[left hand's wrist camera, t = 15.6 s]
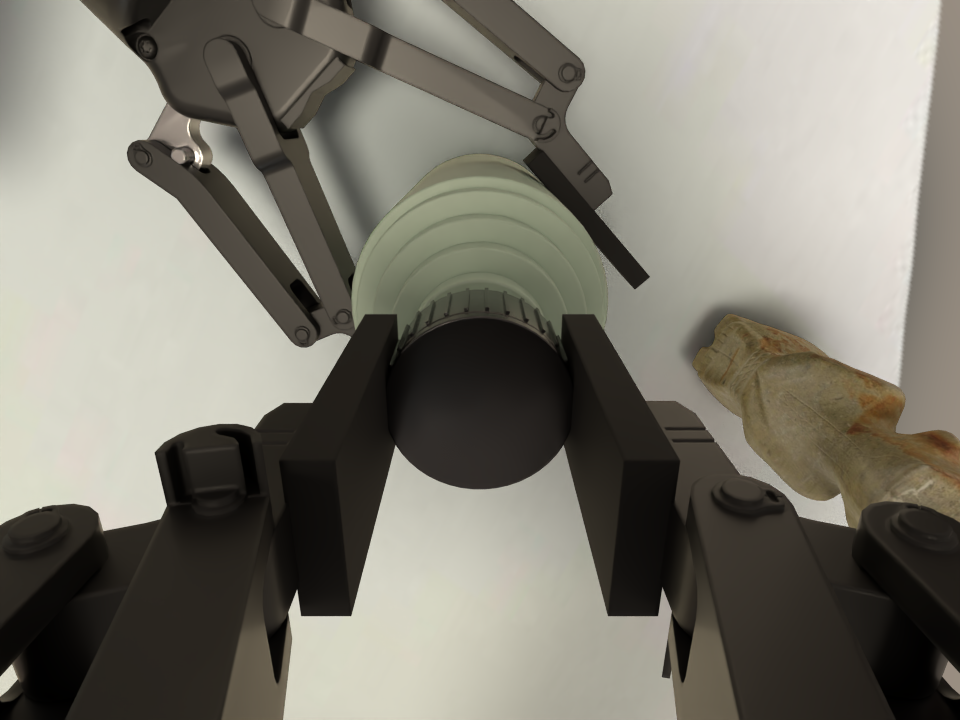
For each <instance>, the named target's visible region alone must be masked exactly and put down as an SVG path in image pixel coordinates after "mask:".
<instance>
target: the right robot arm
mask: <svg viewBox="0 0 960 720" xmlns="http://www.w3.org/2000/svg"><path fill="white" fill-rule="evenodd" d="M80 1H81V2H82V3H83V4H84V5H85V6H86V7H87V8H88V9H89V10H90V11H91V12H92V13H93V14H94V15H95V16H97V17H98V18H99V19H100V20H101V21H102V22H103V23H104V24H105V25H106V26H107V27H108V28H109V29H110V30H111V31H112V32H113V33H114V34H115V35H116V36H117V37H118V38H119V39H120V40H121V41H122V42H123V43H124V44H125V45H126V46H127V47H128V48H129V49H131V50H132V51H133V52H134V53H135V54H136V55H137V56H138V57H139V58H140V59H142V60H143V61H144V62H145V64H146V65H147V66H148V67H149V69H150V70H151V72H152V73H153V75H154V77H155V79H156V81H157V83H158V85H159V88H160V90H161V93H162V95H163V97H164V99H165V100H166V102H167V104H166V106H165V108H164V110H163V111H162V113H161V115H160V117H159V119H158V121H157V123H156V125H155V127H154V129H153V130H152V132H151V134H150V136H149V138H148V139H147V140H137V141H135V142H132V143H131V145H130V146H129V147H128V151H127V157H128V161H129V163H130V164H131V166H132V167H133V168H134V169H135V170H136V171H137V172H139V173H140V174H142V175H143V176H145V177H146V178H148V179H149V180H151V181H152V182H153V183H155V184H156V185H158V186H159V187H161V188H162V189H164V190H165V191H166V192H168V193H169V194H171V195H172V196H174V197H175V198H177V199H178V201H179V202H180V203H181V204H182V206H183V207H184V208H185V209H186V211H187V212H188V213H189V214H190V216H191V217H192V218H193V219H194V221H195V222H196V223H197V224H198V226H199V227H200V228H201V229H202V231H203V232H204V233H205V234H206V236H207V237H208V238H209V239H210V241H211V242H212V243H213V244H214V246H215V247H216V248H217V249H218V251H219V252H220V253H221V254H222V256H223V257H224V258H225V259H226V261H227V262H228V263H229V264H230V265H231V267H232V268H233V269H234V270H235V272H236V273H237V274H238V275H239V277H240V278H241V279H242V280H243V282H244V283H245V284H246V285H247V287H248V288H249V289H250V290H251V292H252V293H253V294H254V295H255V297H256V298H257V299H258V300H259V302H260V303H261V304H262V305H263V307H264V308H265V309H266V310H267V312H268V313H269V314H270V315H271V317H272V318H273V319H274V320H275V322H276V323H277V324H278V325H279V327H280V328H281V329H282V330H283V332H284V333H285V334H286V335H287V337H288V338H289V339H290V340H291V341H292V342H293V343H294V344H295V345H296V346H299V347H309V346H312V345H313V344H314V343H315V342H316V341H318V340H320V339H322V338H325V337H327V336H330V335H332V334H336V333H343V334H347V335H349V336H351V337H352V335H353V334H354V332H355V325H354V320H353V315H352V299H351V297H352V284H353V278H354V274H355V269H356V268H355V266H354V263H353V261H352V259H351V256H350V254H349V252H348V249H347V247H346V245H345V242H344V240H343V237H342V235H341V233H340V230H339V228H338V226H337V223H336V221H335V219H334V216H333V214H332V212H331V209H330V207H329V204H328V202H327V200H326V197H325V195H324V193H323V190H322V188H321V186H320V183H319V181H318V178H317V176H316V174H315V171H314V169H313V167H312V164H311V162H310V158H309V150H308V147H307V144H306V142H305V139H304V137H303V135H302V132H301V130H300V128H304V127H305V126H306V125H307V124H308V122H309V121H310V120H311V119H312V118H313V117H314V116H315V115H316V113H317V111H318V109H319V107H320V105H321V103H322V101H323V98H324V97H325V95H326V94H328V93H329V92H331V91H333V90H334V89H336V88H338V87H339V86H341V85H343V83H344V82H345V81H346V80H347V79H348V78H349V77H350V76H351V75H352V73H353V72H354V71H355V70H356V69H355V68H354V67H353V66H354V64H355V62H356V60H357V61H359V62H361V63H363V64H365V65H368V66H370V67H372V68H374V69H376V70H379V71H381V72H383V73H385V74H388V75H390V76H392V77H394V78H396V79H399V80H401V81H403V82H405V83H408V84H410V85H412V86H414V87H416V88H419V89H421V90H423V91H425V92H427V93H430V94H432V95H434V96H436V97H438V98H441V99H443V100H445V101H447V102H449V103H452V104H454V105H456V106H458V107H460V108H463V109H465V110H467V111H469V112H471V113H474V114H476V115H478V116H480V117H483V118H485V119H487V120H489V121H491V122H494V123H496V124H498V125H500V126H502V127H505V128H507V129H509V130H511V131H513V132H516V133H518V134H520V135H522V136H524V137H527V138H528V139H529V140H530V141H531V142H532V143H533V144H534V146H535V147H536V148H535V149H534V150H533V151H532V152H531V153H530V154H529V155H528V156H527V157H526V158H525V159H524V160H523V161H524V162H525V164H526V165H527V166H528V167H529V168H530V169H531V170H532V172H533V173H534V174H535V175H536V176H537V177H538V179H539V180H540V181H541V182H542V183H543V184H544V186H545V187H546V188H547V189H548V190H549V191H550V192H551V193H552V194H553V195H554V196H555V197H556V198H557V199H558V200H559V201H560V202H561V203H562V204H563V205H564V206H565V207H566V208H567V209H568V210H569V211H570V212H571V213H572V214H573V215H574V216H575V217H576V219H577V220H578V221H579V222H580V223H581V224H582V225H583V227H584V228H585V230H586V231H587V233H588V234H589V236H590V237H591V239H592V240H593V242H594V244H595V245H596V246H597V247H598V248H599V249H600V251H601V252H602V253H603V254H604V255H605V256H606V258H607V259H608V260H609V261H610V262H611V263H612V265H613V266H614V267H615V268H616V269H617V270H618V272H619V273H620V274H621V275H622V276H623V277H624V278H625V279H626V280H627V281H628V283H629V284H630V285H631V286H632V287H633V288H634V289H636V288H637V287H638V286H640V285H641V284H642V283H643V282H644V281H646V280H647V279H648V278H649V277H650V276H649V275H648V274H647V273H646V272H645V271H644V269H643V268H642V267H641V266H640V265H639V263H638V262H637V261H636V260H635V259H634V257H633V256H632V255H631V254H630V253H629V252H628V250H627V249H626V248H625V247H624V246H623V244H622V243H621V242H620V241H619V240H618V239H617V237H616V236H615V235H614V234H613V233H612V231H611V230H610V229H609V228H608V227H607V225H606V224H605V223H604V222H603V221H602V220H601V218H600V217H599V216H598V215H597V214H596V212H595V211H594V210H595V209H596V208H598V207H599V206H600V205H601V204H602V203H603V202H604V201H605V200H607V199H608V198H609V197H610V196H611V195H612V190H611V187H610V183H609V180H608V179H607V178H606V177H605V176H604V174H603V173H602V172H601V171H600V170H599V168H598V167H597V166H596V165H595V163H594V162H593V161H592V160H591V158H590V157H589V156H588V155H587V154H586V152H585V151H584V150H583V149H582V147H581V146H580V145H579V144H578V143H577V141H576V140H575V139H574V138H573V137H572V135H571V134H570V133H569V131H568V129H567V127H566V124H565V115H566V111H567V108H568V106H569V104H570V102H571V100H572V98H573V97H574V95H575V93H576V91H577V89H578V87H579V86H580V85H581V84H582V82H583V80H584V78H585V68H584V64H583V62H582V61H581V60H580V58H579V57H577V56H576V55H575V54H574V53H573V52H572V51H570V50H569V49H568V48H567V47H566V46H565V45H564V44H562V43H561V42H560V41H559V40H558V39H557V38H555V37H554V36H553V35H552V34H551V33H550V32H549V31H547V30H546V29H545V28H544V27H543V26H542V25H540V24H539V23H538V22H537V21H536V20H535V19H534V18H532V17H531V16H530V15H529V14H528V13H527V12H525V11H524V10H523V9H522V8H521V7H520V6H519V5H517V4H516V3H515V2H514V1H513V0H442V1H443V2H444V3H445V4H447V5H448V6H449V7H450V8H451V9H453V10H454V11H455V12H456V13H457V14H459V15H460V16H461V17H462V18H463V19H465V20H466V21H467V22H468V23H469V24H471V25H472V26H473V27H474V28H475V29H477V30H478V31H479V32H480V33H481V34H482V35H484V36H485V37H486V38H487V39H488V40H490V41H491V42H492V43H493V44H494V45H496V46H497V47H498V48H499V49H500V50H502V51H503V52H504V53H505V54H506V55H508V56H509V57H510V58H511V59H512V60H513V61H515V62H516V63H517V64H518V65H519V66H521V67H522V68H523V69H524V70H525V71H527V72H528V73H529V74H530V75H531V76H533V77H534V78H535V79H536V80H537V81H539V82H540V83H541V84H540V86H539V88H538V90H537V92H536V94H535V96H534V98H533V100H530V99H528V98H526V97H524V96H522V95H519V94H517V93H515V92H513V91H511V90H509V89H506V88H504V87H502V86H500V85H498V84H496V83H493V82H491V81H489V80H487V79H485V78H483V77H481V76H478V75H476V74H474V73H472V72H470V71H468V70H465V69H463V68H461V67H459V66H457V65H455V64H453V63H450V62H448V61H446V60H444V59H442V58H440V57H437V56H435V55H433V54H431V53H429V52H427V51H424V50H422V49H420V48H418V47H416V46H414V45H412V44H409V43H407V42H405V41H403V40H401V39H399V38H396V37H394V36H392V35H390V34H388V33H386V32H384V31H383V30H381V29H379V28H377V27H375V26H373V25H371V24H369V23H366V22H364V21H362V20H360V19H358V18H356V17H354V15H353V9H352V4H351V0H80ZM201 120H202V121H207V122H212V123H217V124H221V125H226V126H231V127H236V128H237V129H238V131H239V133H240V135H241V138H242V140H243V142H244V144H245V146H246V148H247V151H248V153H249V155H250V157H251V159H252V161H253V163H254V165H255V166H256V167H257V169H259V170H260V171H261V172H262V174H263V175H264V177H265V179H266V181H267V183H268V185H269V188H270V190H271V192H272V194H273V196H274V199H275V201H276V203H277V205H278V207H279V210H280V212H281V214H282V216H283V218H284V221H285V223H286V225H287V227H288V229H289V232H290V234H291V236H292V238H293V240H294V243H295V245H296V247H297V249H298V251H299V254H300V256H301V258H302V260H303V262H304V265H305V267H306V269H307V271H308V273H309V276H310V278H311V280H312V282H313V284H314V287H315V289H316V291H317V293H318V295H319V297H318V296H317V295H316V293H315V292H314V291H313V290H312V288H311V287H310V286H309V284H308V283H307V282H306V280H305V279H304V278H303V276H302V275H301V274H300V272H299V271H298V270H297V269H296V267H295V266H294V265H293V263H292V262H291V261H290V259H289V258H288V257H287V255H286V254H285V253H284V251H283V250H282V249H281V248H280V246H279V245H278V244H277V242H276V241H275V240H274V238H273V237H272V236H271V234H270V233H269V232H268V230H267V229H266V228H265V227H264V225H263V224H262V223H261V221H260V220H259V219H258V217H257V216H256V215H255V213H254V212H253V211H252V209H251V208H250V207H249V206H248V204H247V203H246V202H245V200H244V199H243V198H242V196H241V195H240V194H239V192H238V191H237V190H236V188H235V187H234V186H233V185H232V184H231V182H230V181H229V180H228V179H227V178H226V176H225V175H223V174H222V173H221V172H220V171H219V170H218V169H217V168H216V167H215V166H214V165H212V164H211V162H212V158H213V155H212V151H211V149H210V147H209V146H208V144H207V143H206V142H205V141H204V140H203V138H202V136H201V134H200V130H199V126H200V122H201ZM319 298H320V299H319Z"/></svg>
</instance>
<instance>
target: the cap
mask: <svg viewBox="0 0 960 720" xmlns="http://www.w3.org/2000/svg"><path fill="white" fill-rule="evenodd" d="M567 363H569V360H568V358H567V355H566V352H565V350H564V347H563V344H562V341H561V339H560V336H559V335H557V336H556V334H555V331H554V329H553V326H552V323H551V321H550V320H549V321H547V320H546V319H545V318H544V317H543V316H542V315H541V313H540V310H539V309H538V308H537V307H536V309H535V308H533V307H532V306H531V305H529V304H528V303H526V302H525V300H524V298H522V297H521V298H520V299H519V298H517V297H514V296H512V295H510V294H507V291H503V292H499V291H493V290H488V288H485V290H476V289H475V290H470V289H469V288H466V291H461V292H457V293H453V294H451V292H449V293H447V296H445V297H442V298H440V299H439V300H437V301H434V300H432V301H431V302H430V305H429V306H427V307H426V308H425V309H423V310H422V311H421V312H420V311H418V312H417V313H416V316H415V318H414V319H413V321H412V322H411V323H410V325H408V324H407V325H406V326H405V329H404V331H403V334H402V337H401V340H398V342H397V345H396V347H395V350H394V353H393V355H392V358H391V361H390V363H389V366H388V367H389V368H391V369H390V372H389V375H388V378H387V381H386V402H387V417H388V430H389V432H390V435H391V437H392V439H393V441H394V443H395V444H396V446H397V447H398V449H399V450H400V452H401V453H402V454H403V455H404V456H405V457H406V459H407V460H408V461H409V462H410V463H411V464H413V465H414V466H415V467H416V468H417V469H418V470H420V471H422V472H423V473H425V474H426V475H428V476H429V477H431V478H434V479H436V480H438V481H440V482H443V483H445V484H448V485H452V486H456V487H460V488H468V489H492V488H499V487H503V486H508V485H511V484H514V483H517V482H520V481H522V480H524V479H526V478H528V477H530V476H532V475H533V474H535V473H536V472H538V471H539V470H541V469H542V468H543V467H544V466H546V465H547V464H548V463H549V462H550V461H551V460H552V459H553V458H554V457H555V456H556V455H557V453H558V452H559V451H560V449H561V448H562V446H563V445H564V443H565V441H566V439H567V438H568V436H569V433H570V430H571V422H572V407H573V390H574V384H573V380H572V377H571V374H570V371H569V369H568V366H567Z"/></svg>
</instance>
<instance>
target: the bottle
mask: <svg viewBox="0 0 960 720" xmlns="http://www.w3.org/2000/svg"><path fill="white" fill-rule="evenodd" d="M466 288H469V289H470V290H475V289H476V290H485V288H488V290H493V291H499V292H503V291H507V294H510V295H512V296H514V297H517V298H519V299H520V298H521V297H522V298H524V300H525V302H526V303H528V304H529V305H531V306H532V307H533V308H535V309H536V307H537V308H538V309H539V310H540V313H541V315H542V316H543V317H544V318H545V319H546V320H547V321H549V320H550V321H551V323H552V326H553V329H554V331H555V334H556V336H557V335H559V336H560V339H561V328H562V314H594V315H595V316H596V318H597V320H598V321H599V323H600V325H601V327H602V328H603V330H604V327H605V323H606V317H607V308H608V290H607V282H606V276H605V271H604V268H603V264H602V261H601V258H600V255H599V253H598V251H597V249H596V247H595V245H594V242H593V240H592V239H591V237H590V236H589V234H588V233H587V231H586V230H585V228H584V227H583V225H582V224H581V223H580V222H579V221H578V220H577V219H576V217H575V216H574V215H573V214H572V213H571V212H570V211H569V210H568V209H567V208H566V207H565V206H564V205H563V204H562V203H561V202H560V201H559V200H558V199H557V198H556V197H555V196H554V195H553V194H552V193H551V192H550V191H549V190H548V189H547V188H546V187H545V186H544V185H543V184H542V183H541V182H540V181H539V180H538V179H537V178H536V177H535V176H534V175H533V174H532V173H531V172H529V171H528V170H527V169H525V168H524V167H522V166H521V165H519V164H518V163H516V162H513V161H511V160H509V159H506V158H503V157H500V156H496V155H490V154H470V155H464V156H460V157H456V158H453V159H451V160H448V161H446V162H444V163H442V164H440V165H439V166H437V167H435V168H434V169H433V170H431V171H430V172H429V173H428V174H427V175H426V176H425V177H424V178H423V179H422V180H421V181H420V182H419V183H418V184H417V185H416V186H415V187H414V188H413V189H412V190H411V191H410V192H409V193H408V194H407V195H406V196H405V197H404V198H403V199H402V200H401V201H400V202H399V203H398V204H397V205H396V206H395V207H394V208H393V209H392V210H391V211H390V212H389V213H388V214H387V215H386V216H385V217H384V218H383V219H382V220H381V221H380V222H379V224H378V225H377V226H376V228H375V229H374V230H373V232H372V233H371V234H370V236H369V238H368V240H367V242H366V244H365V245H364V247H363V249H362V251H361V254H360V257H359V260H358V262H357V265H356V269H355V274H354V278H353V284H352V297H351V299H352V315H353V320H354V325H355V330H356V329H357V327H358V325H359V324H360V322H361V320H362V318H363V317H364V315H365V314H397V323H398V340H401V337H402V334H403V331H404V329H405V326H406V325H407V324H408V325H410V323H411V322H412V321H413V319H414V318H415V316H416V313H417V312H418V311H420V312H421V311H422V310H423V309H425V308H426V307H427V306H429V305H430V302H431V301H432V300H434V301H437V300H439V299H440V298H442V297H445V296H447V293H449V292H451V294H453V293H457V292H461V291H466Z"/></svg>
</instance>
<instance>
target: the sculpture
mask: <svg viewBox="0 0 960 720" xmlns="http://www.w3.org/2000/svg"><path fill="white" fill-rule="evenodd" d="M714 333H715V339H714V342H713V344H712V345H711V346H710V347H702V348H701V349H700V350H699V352H698V353H697V355H696V357H695V359H694V361H693V363H692V365H693V367H694V368H695V369H696V370H697V371H698V376H699V378H700V379H701V381H702V382H703V384H704V385H705V386H706V388H707V389H708V390H709V391H710V392H711V394H712V395H713V396H714V397H715V398H716V399H717V400H718V401H719V402H720V403H721V404H723V405H724V406H725V407H726V408H727V409H728V410H730V411H731V412H732V413H734V414H735V415H737V416H739V417H741V418H742V421H743V428H744V434H745V438H746V441H747V443H748V444H749V445H750V446H751V448H752V449H753V450H754V451H755V452H756V453H757V454H758V455H759V456H760V457H761V458H762V459H763V460H764V461H765V462H766V463H767V464H768V465H769V466H770V467H771V468H772V469H773V470H774V471H775V472H776V473H777V474H778V475H779V476H780V478H781V479H782V480H783V481H784V482H785V483H786V484H788V485H789V486H790V487H791V488H792V489H793V490H794V491H796V492H797V493H799V494H801V495H803V496H805V497H807V498H810V499H813V500H818V501H826V500H829V499H831V498H834V497H835V496H837V495H838V494H840V493H841V495H842V499H843V502H844V507H845V514H846V520H847V523H848V526H849V527H851V528H856V529H857V526H858V522H859V519H860V515H861V512H862V510H863V509H864V508H866V507H867V506H868V505H870V504H872V503H878V502H884V501H892V502H908V503H913V504H918V506H921V505H922V506H926V507H929V508H932V509H934V510H936V511H937V512H939V513H942V514H944V515H946V516H949V517H951V518H953V519H955V520H957V521H958V522H960V441H959V440H958V438H957V437H955V436H954V435H953V434H952V433H949V432H947V431H942V430H934V431H928V432H922V433H917V434H912V435H910V434H899V433H896V432H895V431H896V425H897V423H898V420H899V418H900V416H901V413H902V411H903V409H904V406H905V395H904V393H903V392H902V390H901V389H900V388H899V387H897V386H896V385H894V384H891V383H889V382H887V381H884V380H882V379H880V378H877V377H875V376H873V375H870V374H868V373H865V372H863V371H860V370H857V369H855V368H852V367H850V366H848V365H845V364H843V363H841V362H839V361H837V360H835V359H832V358H829V357H828V356H827V355H826V354H825V353H824V352H822V351H821V350H820V349H819V348H817V347H816V346H815V345H813V344H811V343H810V342H808V341H806V340H804V339H802V338H800V337H797V336H795V335H792V334H789V333H787V332H784V331H781V330H778V329H775V328H772V327H770V326H766V325H763V324H760V323H757V322H754V321H751V320H749V319H746V318H743V317H740V316H737V315H734V314H727V315H726V316H725V317H724V318H723V319H722V320H721V322H720V323H719V324H718V325H717V326H716V328H715V330H714Z"/></svg>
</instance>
